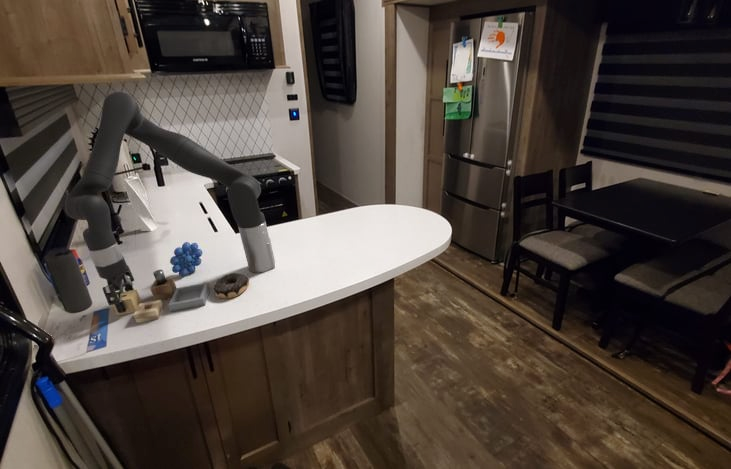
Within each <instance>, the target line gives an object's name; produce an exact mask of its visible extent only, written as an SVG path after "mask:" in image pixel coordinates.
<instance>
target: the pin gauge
mask: <svg viewBox="0 0 731 469" xmlns="http://www.w3.org/2000/svg"><path fill="white" fill-rule="evenodd" d="M152 273H153V274H152V275H153V276H154V279H155V280H156V282H157V284H158V285H164V284H166V282H167V281H166V278H167V277H166V276H165V273H164V270H163V269H158V270H157V269H156V270H154V271H153V272H152Z"/></svg>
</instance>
